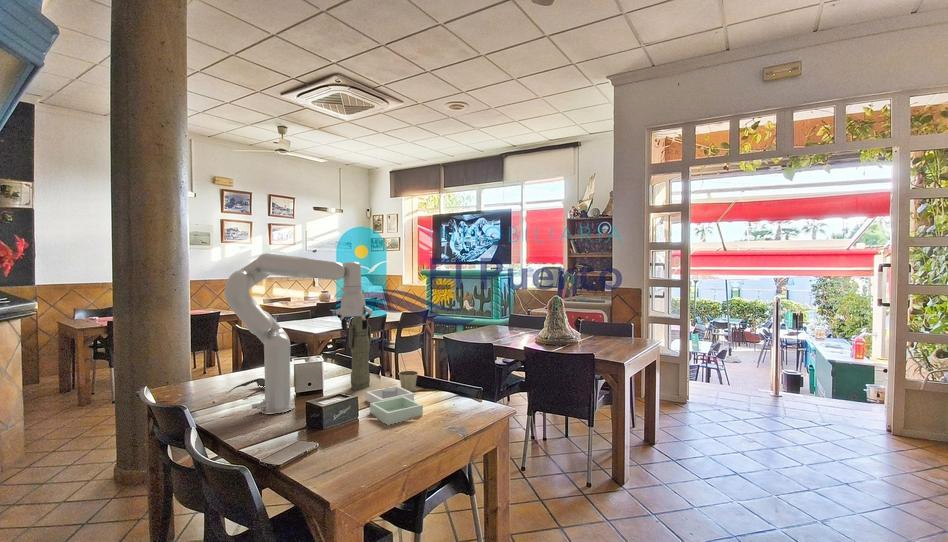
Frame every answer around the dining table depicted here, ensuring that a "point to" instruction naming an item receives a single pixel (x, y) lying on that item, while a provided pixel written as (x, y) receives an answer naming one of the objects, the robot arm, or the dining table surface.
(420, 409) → the bin
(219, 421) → the dining table surface
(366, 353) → the olive green tall block
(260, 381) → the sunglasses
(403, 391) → the bin
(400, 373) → the flower pot
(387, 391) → the gray cube
